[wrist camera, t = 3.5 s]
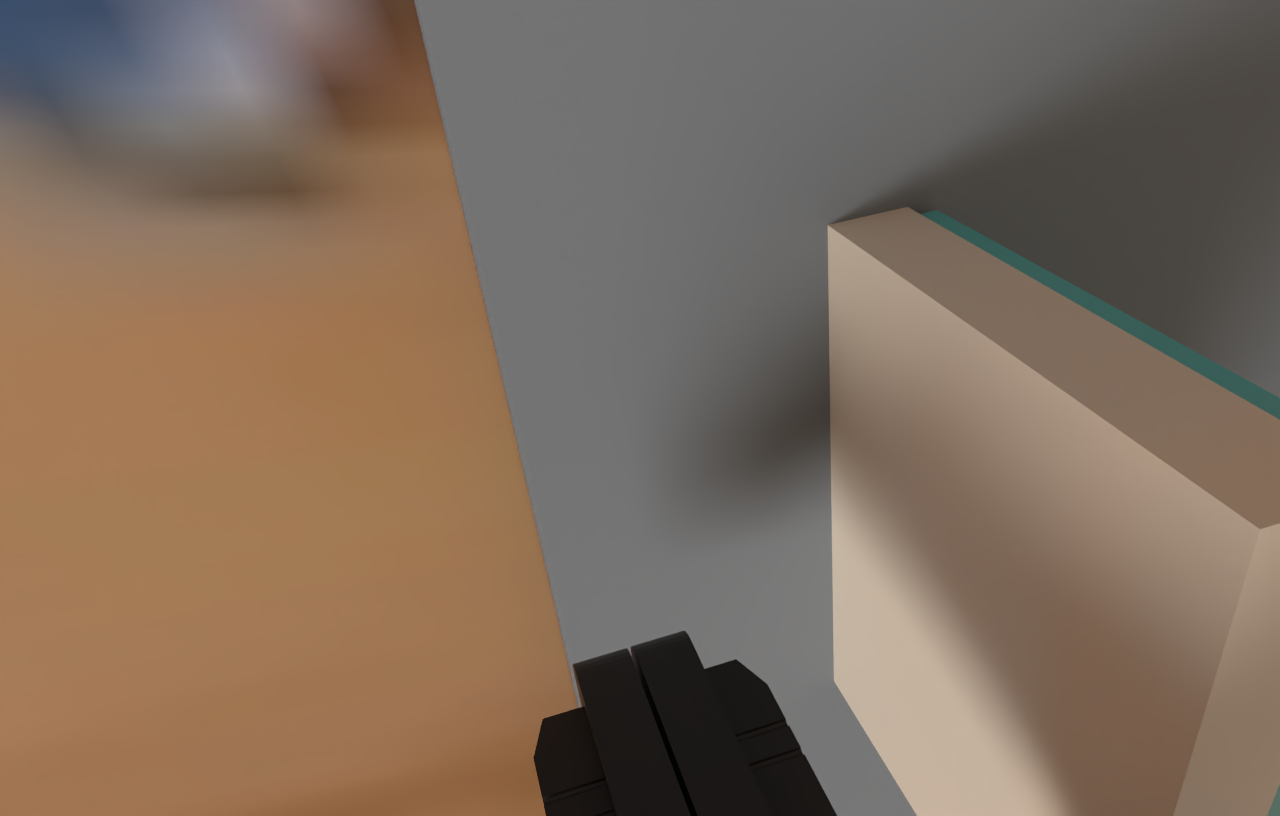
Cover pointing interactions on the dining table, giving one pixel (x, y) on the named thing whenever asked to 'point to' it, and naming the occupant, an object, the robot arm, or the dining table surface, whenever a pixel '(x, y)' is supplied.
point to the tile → (1045, 539)
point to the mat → (812, 263)
